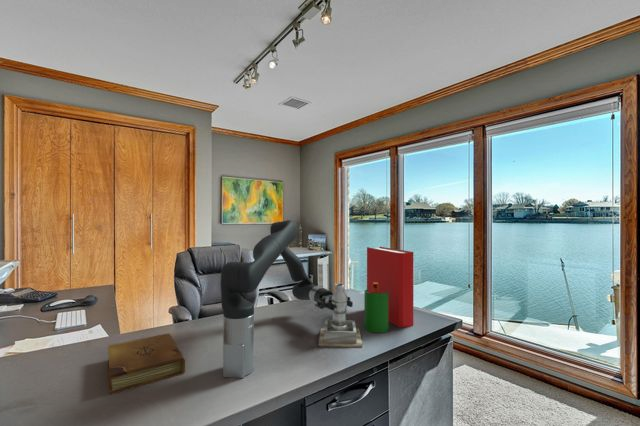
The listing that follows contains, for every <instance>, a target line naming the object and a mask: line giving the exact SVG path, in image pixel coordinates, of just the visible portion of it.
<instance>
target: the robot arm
mask: <svg viewBox="0 0 640 426" xmlns="http://www.w3.org/2000/svg"><path fill="white" fill-rule="evenodd" d="M269 231H270V234H269V235H266V236H264V237H263V238H262V239H261V240H260V241H258V242H257V243H256V244H255V245H254V247H253V249H252V257H253V260H252V261H249V262H246V261H245V262H242V261H241V262H239V261H238V262H237V261H235V262H234V261H228V262H227V263H225V264H224V265H223V267H222V269H221V272H220V273H221V274H220V301H221V309H222V313H223V314H222V317H223V318H222V320H223V321H222V323H223V325H222V375H223V378H239V379H244V378H245V377H246V376H248V375H250V374H251V373H252V372H253V371H254V369H255V367H254V366H255V364H254V363H255V359H254V358H255V356H254V355H255V345H254V344H255V305H254V304H253V303H252V301H249V300H247V299H246V298H244V297H243V296H242V295H241V294H249V293H250V294H251V293H253V292H254V291H255V290H256V289H257V288H258V286H259V285H260V283H261V282H262V280H263V278H264V276H265V275H266V273H267V272H268V270H270V268H271V266H272V265H273V264H274V263H275V261H277V260H278V258H279V257H280V256H281V257H282V258H283V261H284V263H285V264H286V267H287V270H288V272H289V275H290V277H291V278H290V279H291V281H293V282H296V284H294V285H293V287H292V289H291V291H292V293H291V294H292V295H293V296H294V297H295V298H296V299H297V300H300V301H310V302H312V303H314V306H315V307H317V308H318V309H320V310H324V309H326V310H327V309H328V310H331V311H333V310H335V305H334V304H332V299H331V298H332V295H333V293H334V292H332V290H330V289H327V288H326V287H325V288H324V287H322V286H318V285H315V284H314V283H313V281H312V280H311V279H310V278H309V276H308V275H307V272H306V270H305V267H304V265H303V262H302V260H301V258H299V256H297V254H295V253H294V252H293V251H292V250H291V249H290V248H289V247H288V246H289V245H290V244H291V243H293V242H294V241H295V240H296V239H297V237H298V235H299V234H298V232H299V229H298V225H297V223H296V222H295V221H294V220H291V219H289V220H288V219H287V220H283V221H276V222H273V223H271V225H270V229H269ZM240 293H241V294H240ZM347 298H348V300H347V307H349V308H352V307H353V304H354V303H353V301H352V300H351V297H350V296H347Z"/></svg>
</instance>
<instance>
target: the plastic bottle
mask: <svg viewBox="0 0 640 426" xmlns="http://www.w3.org/2000/svg"><path fill="white" fill-rule="evenodd" d="M332 293H333V295H332V298H331V299H332V304H334V305H335V310H332V319H331V320H332V327H331V331H348V327H347V321H346V320H347V307H348V306H347V300H348V298H347V297H348V295H347V294H346V292H345V284H342V283H336V284H334V292H332Z"/></svg>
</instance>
